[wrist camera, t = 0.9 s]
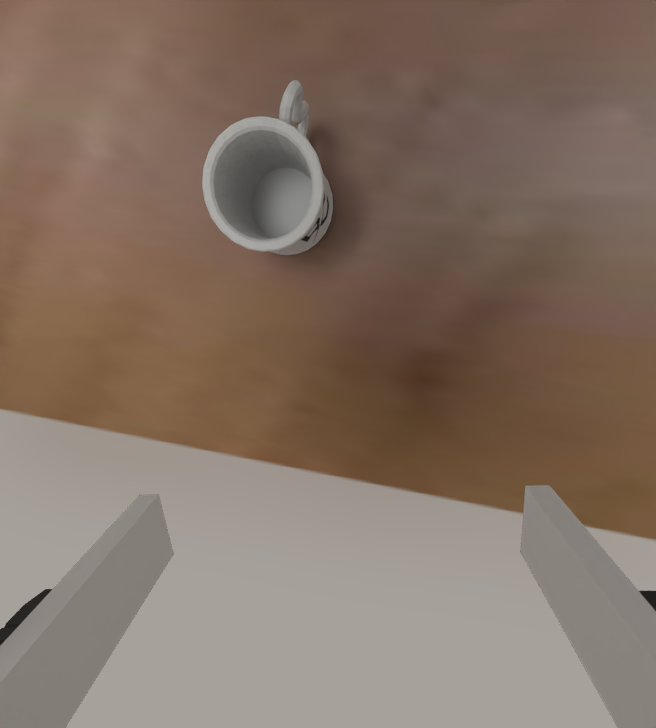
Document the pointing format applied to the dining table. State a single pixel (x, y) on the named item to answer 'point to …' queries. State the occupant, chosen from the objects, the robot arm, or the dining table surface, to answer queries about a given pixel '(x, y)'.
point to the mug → (269, 181)
